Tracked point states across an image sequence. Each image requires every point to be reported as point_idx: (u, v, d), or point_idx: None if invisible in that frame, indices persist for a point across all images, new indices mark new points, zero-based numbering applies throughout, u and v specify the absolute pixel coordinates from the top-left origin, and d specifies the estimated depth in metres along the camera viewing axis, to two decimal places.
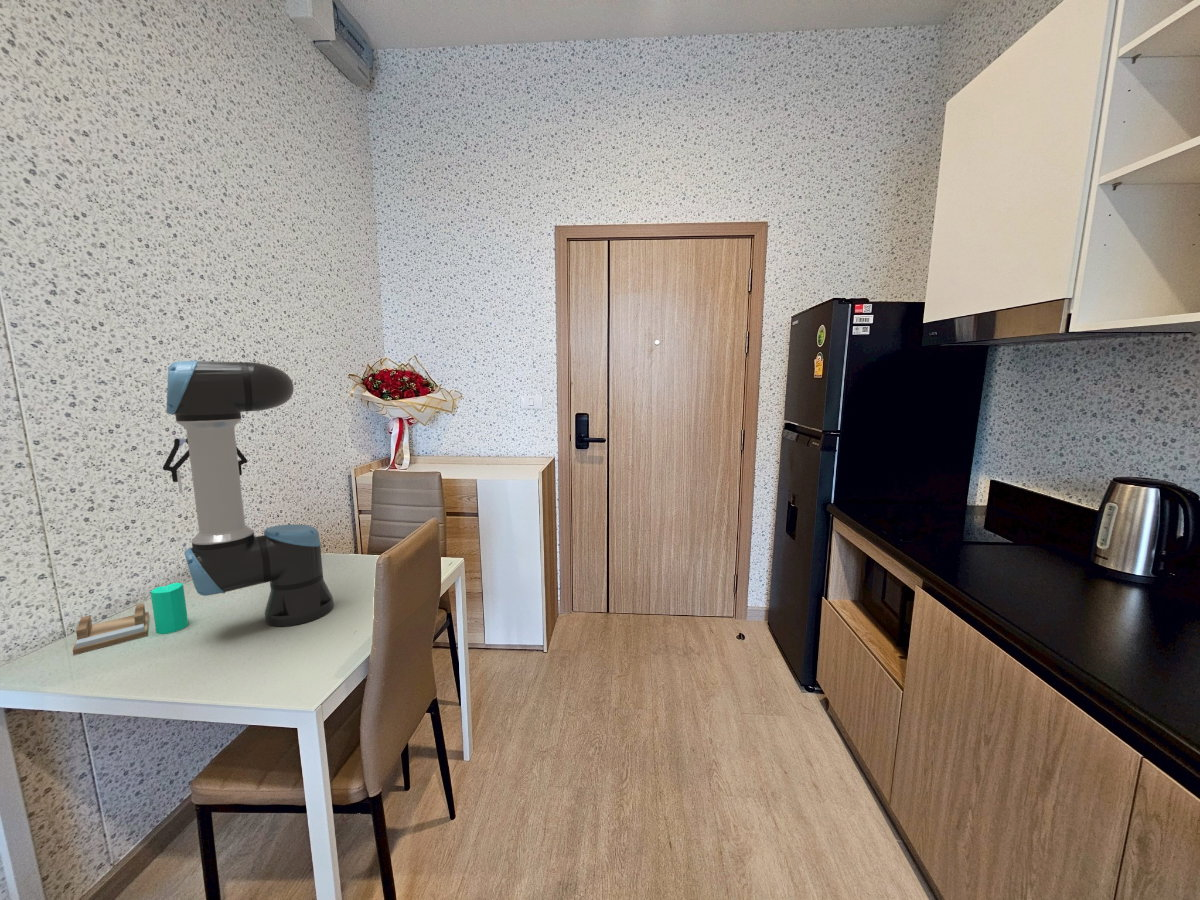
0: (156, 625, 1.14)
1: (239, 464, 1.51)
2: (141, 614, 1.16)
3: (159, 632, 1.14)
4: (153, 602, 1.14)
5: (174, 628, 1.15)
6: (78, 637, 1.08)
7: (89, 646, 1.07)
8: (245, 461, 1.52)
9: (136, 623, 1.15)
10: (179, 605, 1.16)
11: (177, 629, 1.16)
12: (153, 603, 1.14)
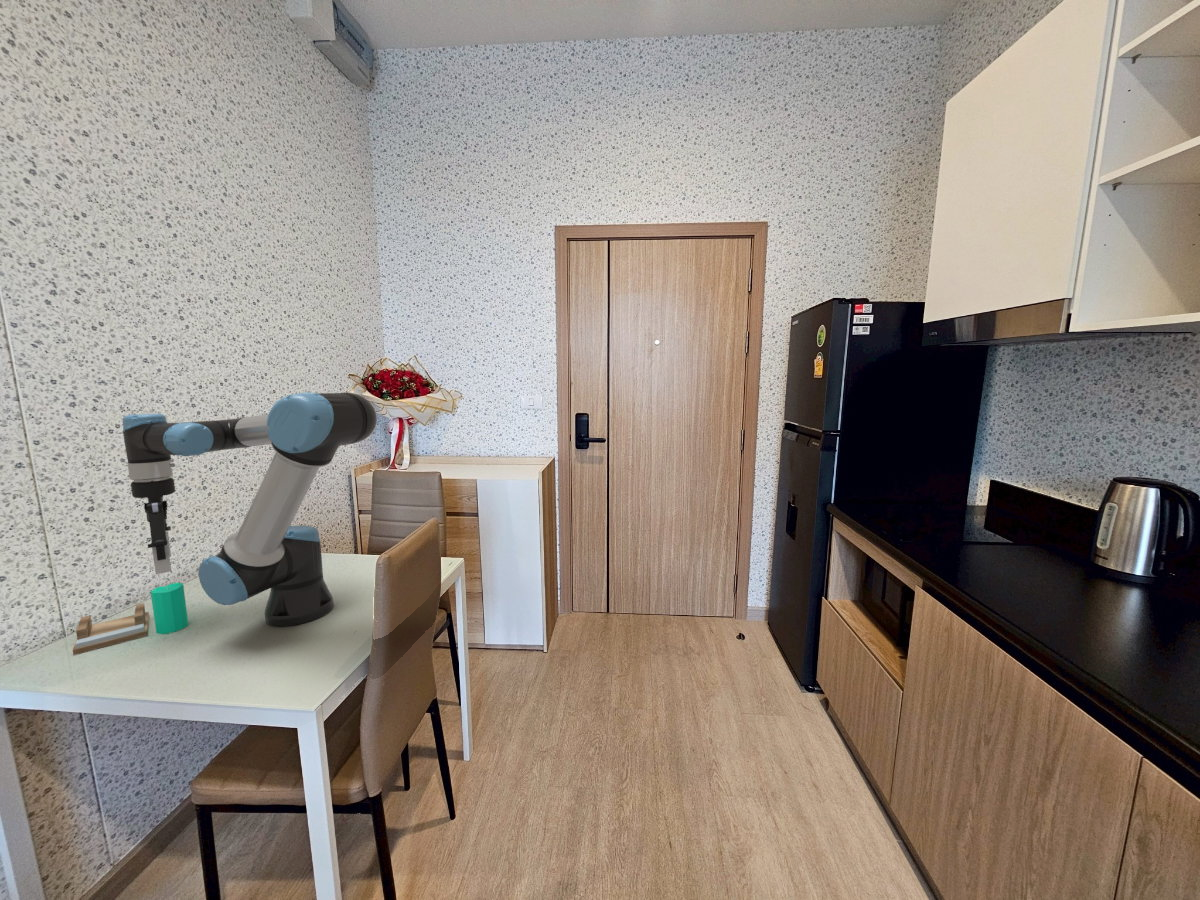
0: (156, 625, 1.14)
1: None
2: (141, 614, 1.16)
3: (159, 632, 1.14)
4: (153, 602, 1.14)
5: (174, 628, 1.15)
6: (78, 637, 1.08)
7: (89, 646, 1.07)
8: (151, 544, 1.06)
9: (136, 623, 1.15)
10: (180, 605, 1.16)
11: (177, 629, 1.16)
12: (153, 603, 1.14)
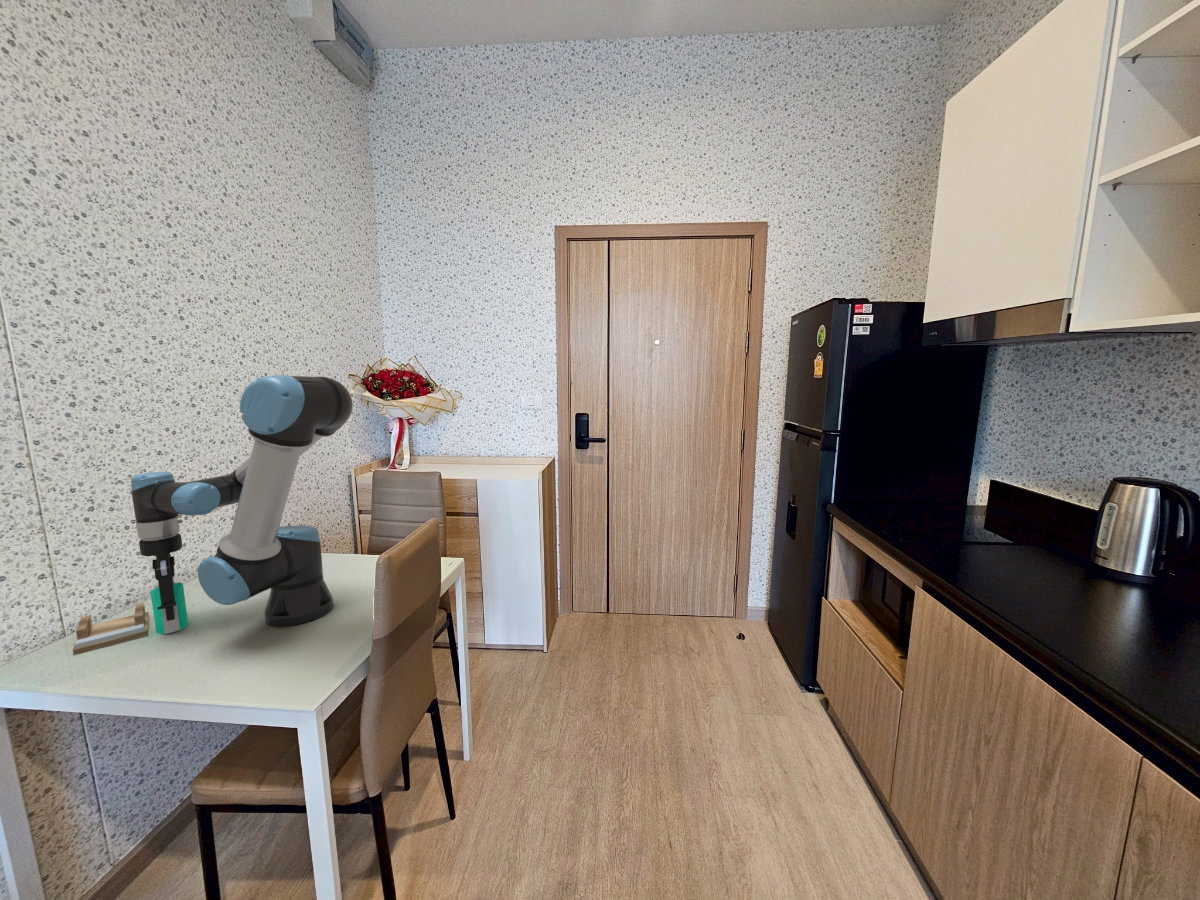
0: (156, 625, 1.14)
1: None
2: (141, 614, 1.16)
3: (159, 632, 1.14)
4: (153, 602, 1.14)
5: None
6: (78, 637, 1.08)
7: (89, 646, 1.07)
8: (161, 606, 1.11)
9: (136, 623, 1.15)
10: (179, 605, 1.16)
11: None
12: (153, 603, 1.14)
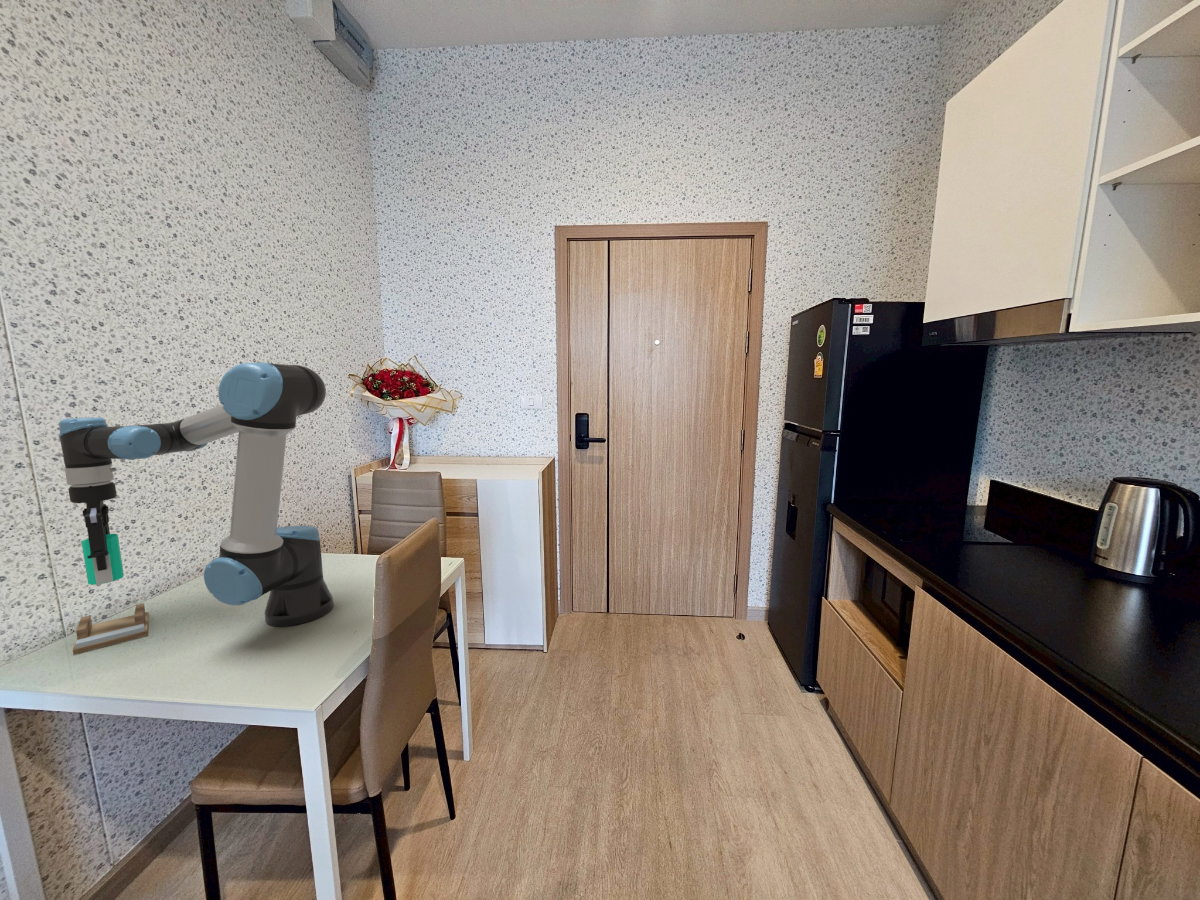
0: (88, 575, 1.11)
1: (87, 556, 1.08)
2: (141, 614, 1.16)
3: (91, 583, 1.11)
4: (84, 551, 1.10)
5: None
6: (78, 637, 1.08)
7: (89, 646, 1.07)
8: None
9: (136, 623, 1.15)
10: (113, 556, 1.13)
11: None
12: (84, 552, 1.10)
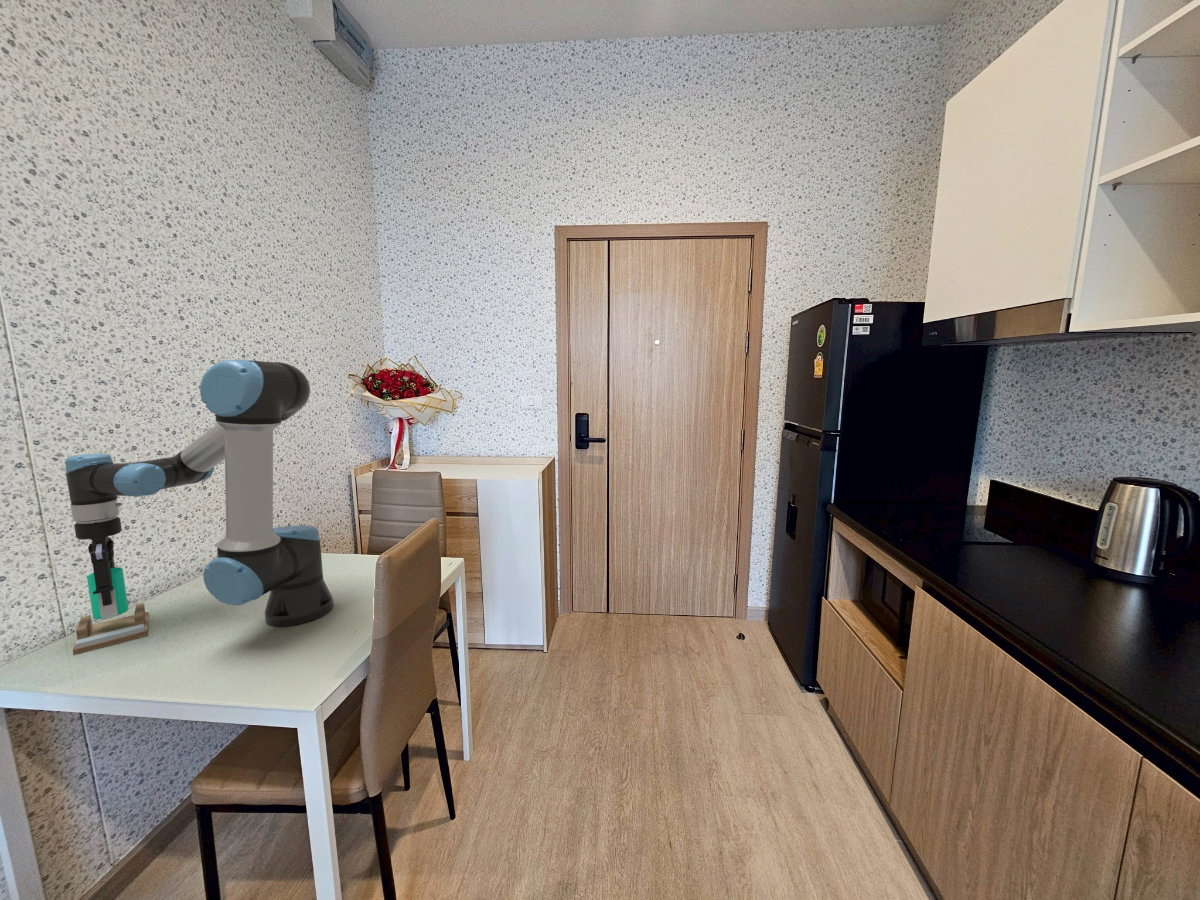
0: (93, 610, 1.12)
1: (93, 592, 1.09)
2: (141, 614, 1.16)
3: (96, 617, 1.12)
4: (89, 586, 1.11)
5: None
6: (78, 637, 1.08)
7: (89, 646, 1.07)
8: (96, 590, 1.09)
9: (136, 623, 1.15)
10: (118, 590, 1.14)
11: None
12: (89, 587, 1.11)
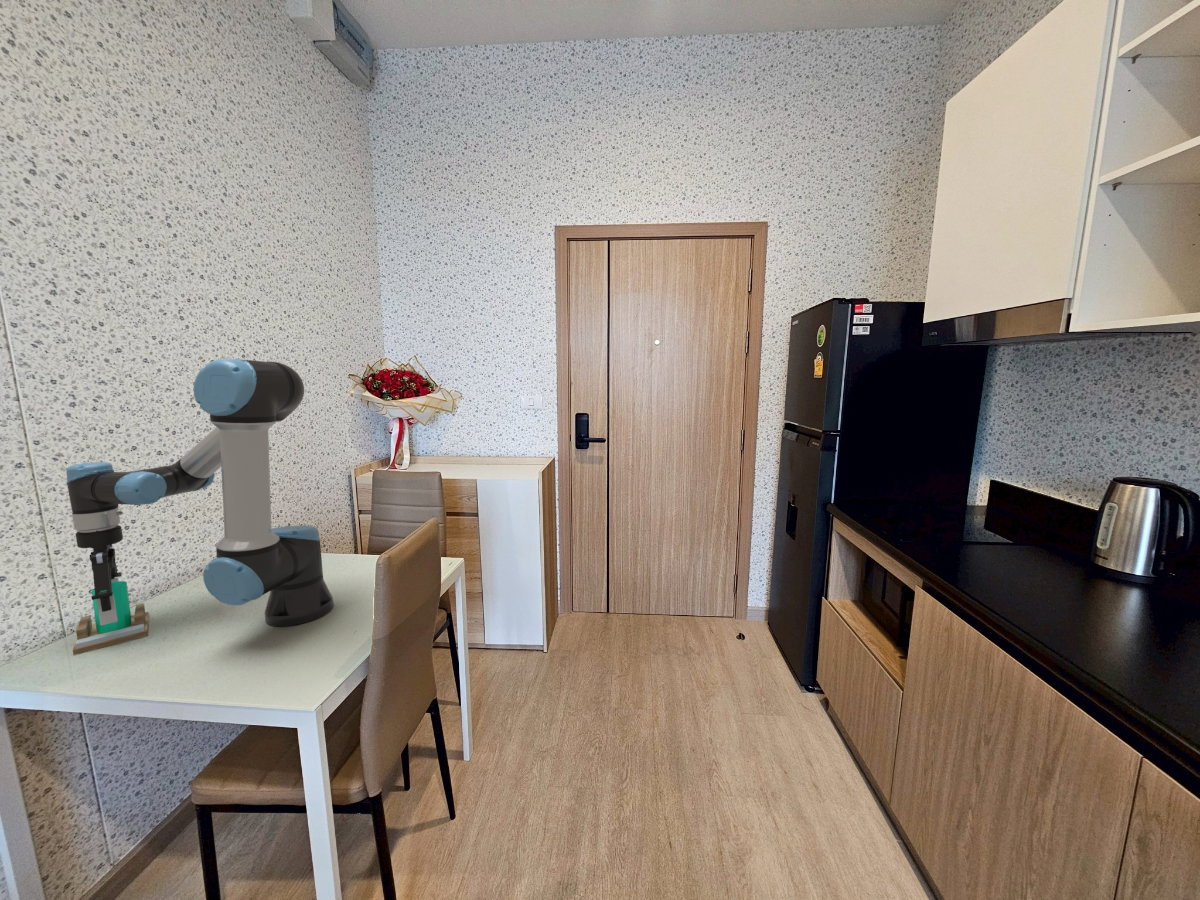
0: (97, 624, 1.13)
1: None
2: (141, 614, 1.16)
3: (100, 631, 1.13)
4: (94, 600, 1.12)
5: (116, 627, 1.14)
6: (78, 637, 1.08)
7: (89, 646, 1.07)
8: None
9: (136, 623, 1.15)
10: (122, 603, 1.15)
11: (119, 628, 1.14)
12: (94, 601, 1.12)
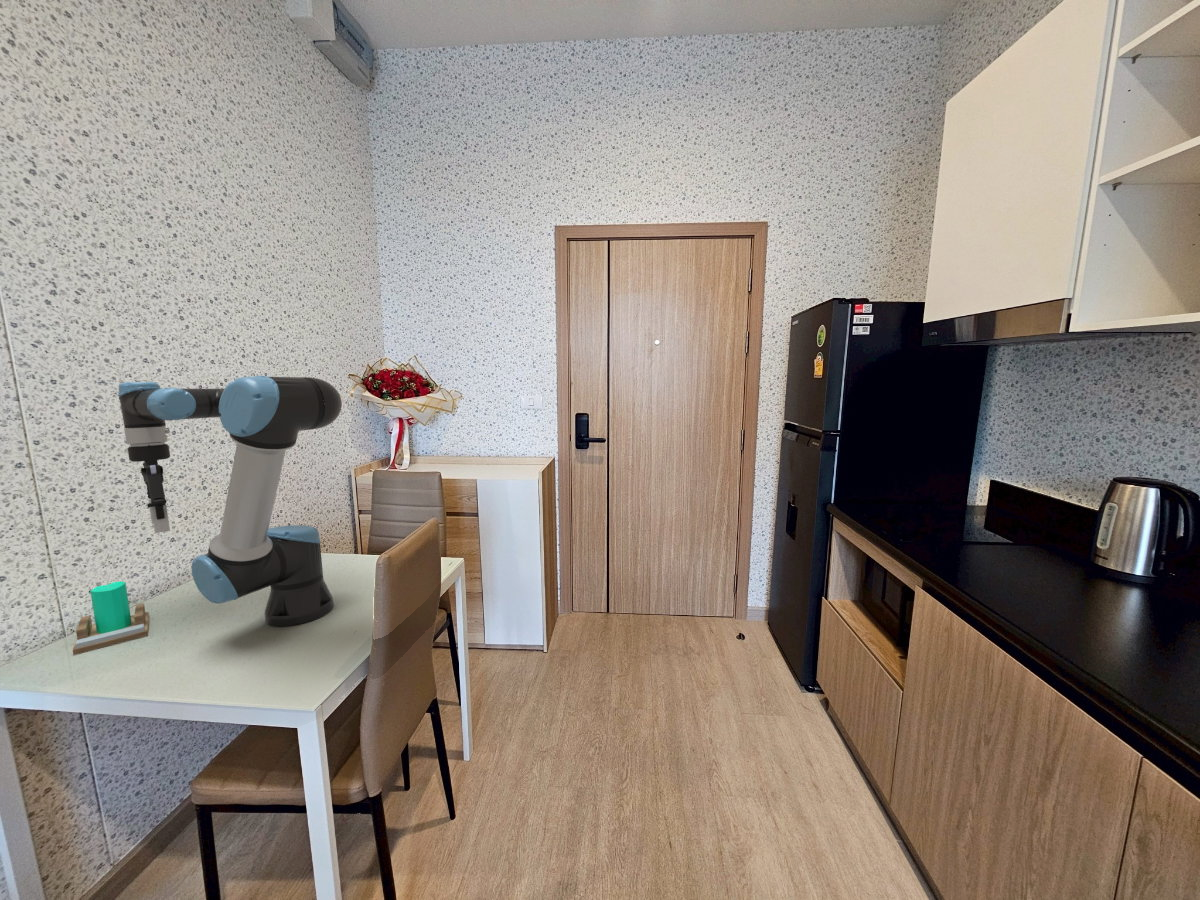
0: (97, 624, 1.13)
1: None
2: (141, 614, 1.16)
3: (100, 631, 1.13)
4: (93, 601, 1.12)
5: (116, 627, 1.14)
6: (78, 637, 1.08)
7: (89, 646, 1.07)
8: None
9: (136, 623, 1.15)
10: (122, 604, 1.14)
11: (119, 628, 1.14)
12: (93, 602, 1.12)
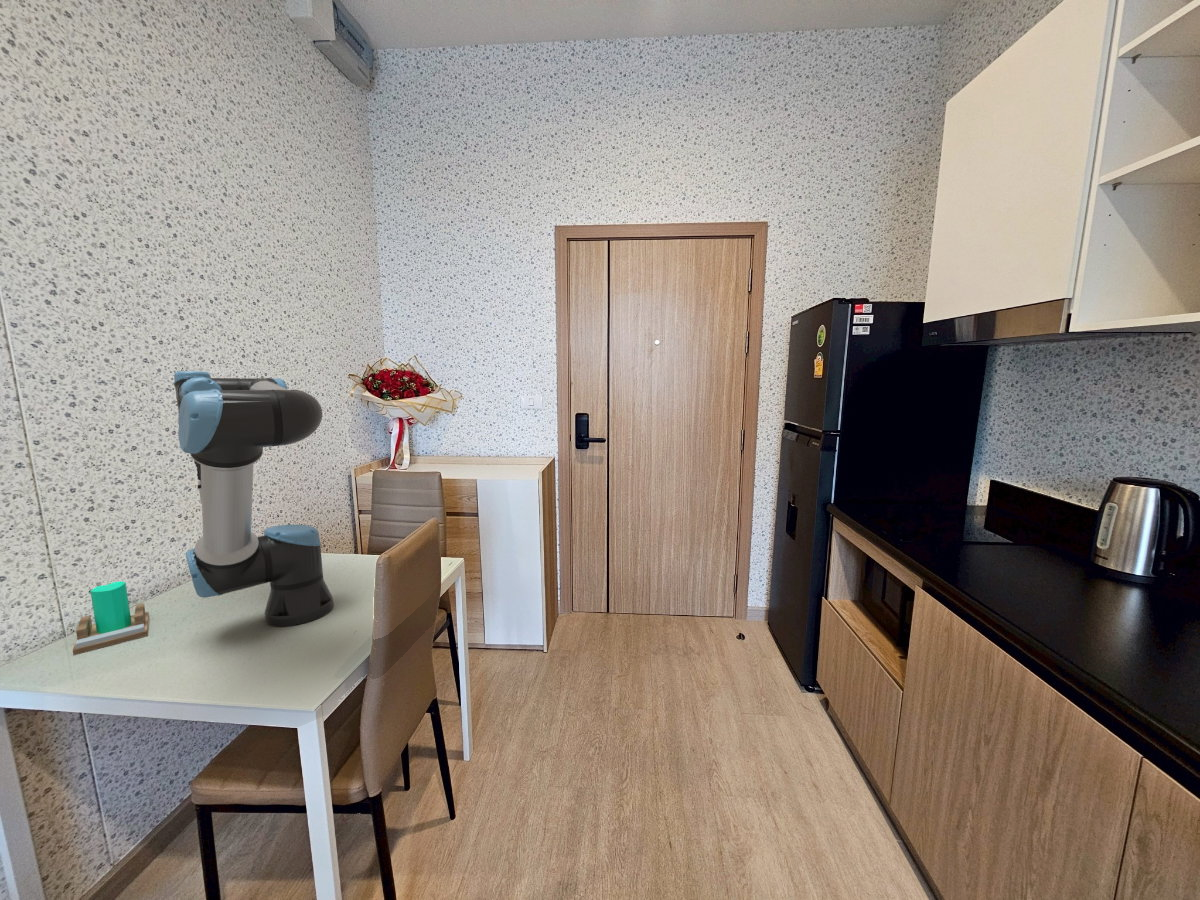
0: (97, 624, 1.13)
1: None
2: (141, 614, 1.16)
3: (100, 631, 1.13)
4: (93, 601, 1.12)
5: (116, 627, 1.14)
6: (78, 637, 1.08)
7: (89, 646, 1.07)
8: (201, 484, 1.21)
9: (136, 623, 1.15)
10: (122, 604, 1.14)
11: (119, 628, 1.14)
12: (93, 602, 1.12)
